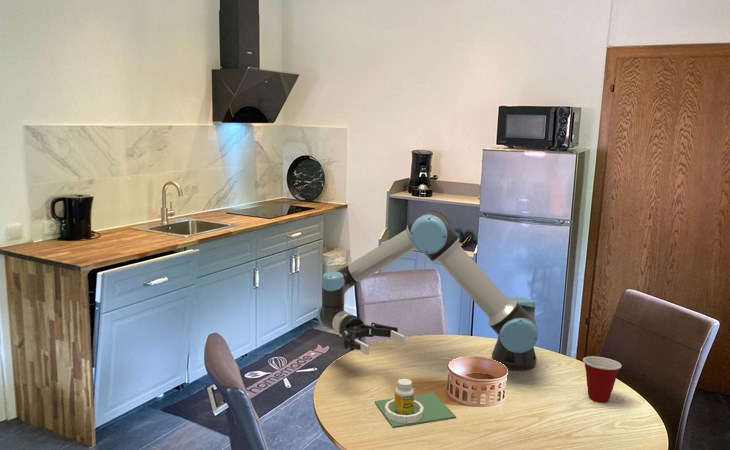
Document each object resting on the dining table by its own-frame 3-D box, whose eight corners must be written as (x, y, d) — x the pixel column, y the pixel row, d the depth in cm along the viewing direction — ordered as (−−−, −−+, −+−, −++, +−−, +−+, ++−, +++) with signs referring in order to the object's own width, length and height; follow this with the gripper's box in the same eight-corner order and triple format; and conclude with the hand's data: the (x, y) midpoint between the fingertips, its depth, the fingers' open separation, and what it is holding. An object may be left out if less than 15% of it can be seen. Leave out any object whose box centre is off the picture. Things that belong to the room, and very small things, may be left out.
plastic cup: (618, 394, 177) (622, 357, 175) (617, 409, 167) (621, 371, 165) (581, 387, 181) (584, 351, 179) (578, 401, 172) (581, 364, 170)
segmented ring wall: (414, 402, 168) (414, 396, 168) (429, 420, 158) (429, 413, 158) (380, 407, 165) (380, 401, 165) (393, 425, 155) (393, 418, 155)
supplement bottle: (405, 407, 165) (406, 375, 164) (417, 415, 161) (418, 382, 160) (390, 412, 162) (391, 380, 161) (402, 420, 158) (403, 387, 156)
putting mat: (433, 394, 175) (433, 392, 175) (455, 417, 161) (456, 416, 161) (374, 402, 169) (374, 400, 169) (392, 427, 155) (392, 426, 155)
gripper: (379, 329, 197) (418, 348, 180) (315, 344, 183) (351, 366, 166) (379, 308, 196) (418, 325, 179) (315, 322, 182) (351, 342, 165)
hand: (386, 345), depth 172 cm, fingers open, 13 cm apart
